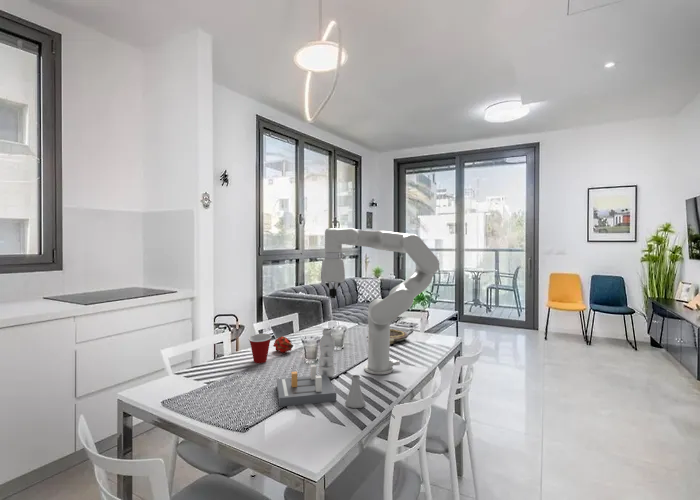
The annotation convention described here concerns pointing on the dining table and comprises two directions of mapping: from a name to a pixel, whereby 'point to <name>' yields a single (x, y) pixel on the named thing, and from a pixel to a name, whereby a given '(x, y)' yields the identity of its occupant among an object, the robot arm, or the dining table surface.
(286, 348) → the dragon fruit
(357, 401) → the flask
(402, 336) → the pie
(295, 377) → the block
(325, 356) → the plastic bottle
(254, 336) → the plastic cup
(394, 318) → the robot arm
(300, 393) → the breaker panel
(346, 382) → the dining table surface
